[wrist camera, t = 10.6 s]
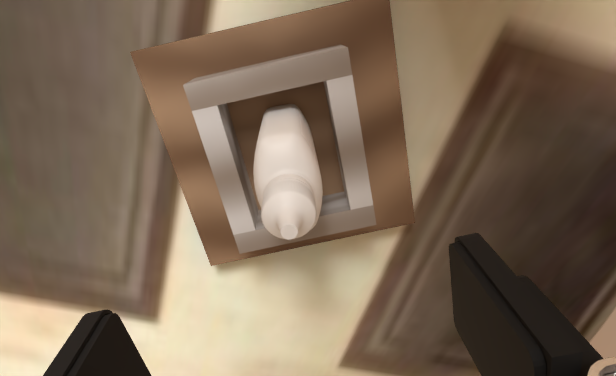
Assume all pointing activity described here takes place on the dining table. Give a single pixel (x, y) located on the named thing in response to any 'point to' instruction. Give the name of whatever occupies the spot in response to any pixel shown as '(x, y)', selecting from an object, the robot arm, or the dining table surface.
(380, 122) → the bottle stand
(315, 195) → the eye dropper bottle
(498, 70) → the dining table surface
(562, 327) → the robot arm
